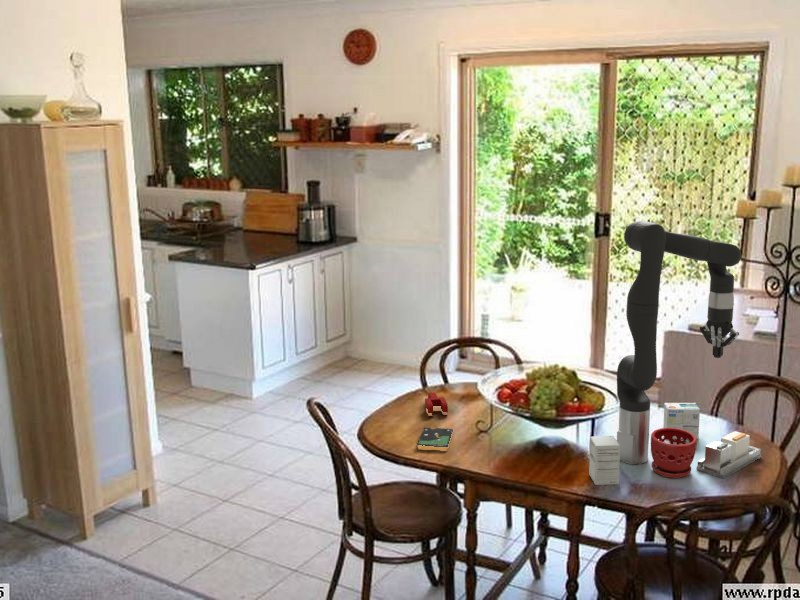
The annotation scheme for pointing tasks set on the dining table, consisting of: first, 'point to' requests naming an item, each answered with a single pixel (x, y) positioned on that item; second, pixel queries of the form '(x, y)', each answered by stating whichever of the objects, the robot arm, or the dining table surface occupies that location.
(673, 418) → the light bulb box
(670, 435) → the plant pot
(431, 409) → the toy lobster
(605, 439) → the supplement box
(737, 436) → the block
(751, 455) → the din rail
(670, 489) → the dining table surface
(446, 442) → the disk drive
